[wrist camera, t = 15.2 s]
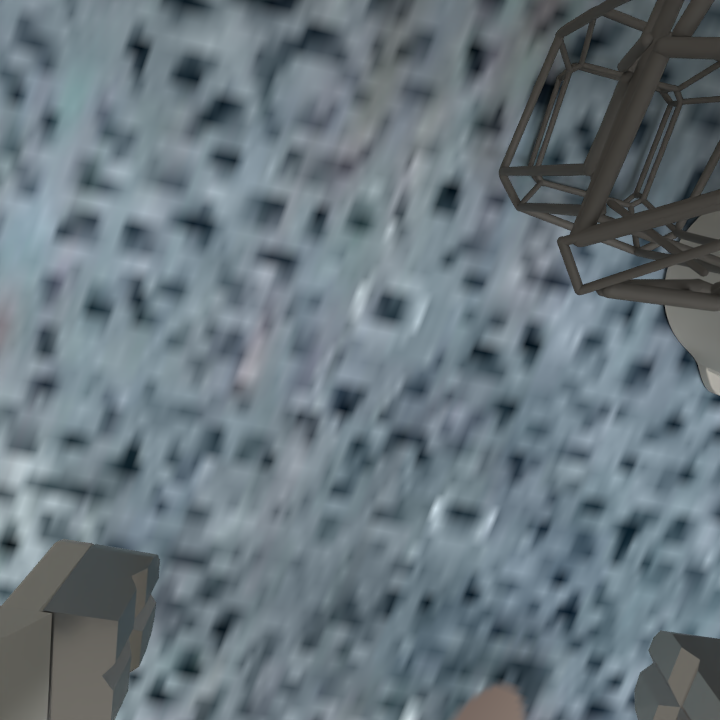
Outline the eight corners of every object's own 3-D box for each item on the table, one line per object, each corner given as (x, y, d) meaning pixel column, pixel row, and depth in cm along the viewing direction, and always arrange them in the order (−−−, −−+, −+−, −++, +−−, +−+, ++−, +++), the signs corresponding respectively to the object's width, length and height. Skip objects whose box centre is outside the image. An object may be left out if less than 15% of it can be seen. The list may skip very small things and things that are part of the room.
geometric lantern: (749, 64, 42) (2027, -309, 9) (645, 276, 47) (1218, 543, 14) (537, -12, 42) (1057, -709, 8) (455, 210, 47) (577, 322, 13)
